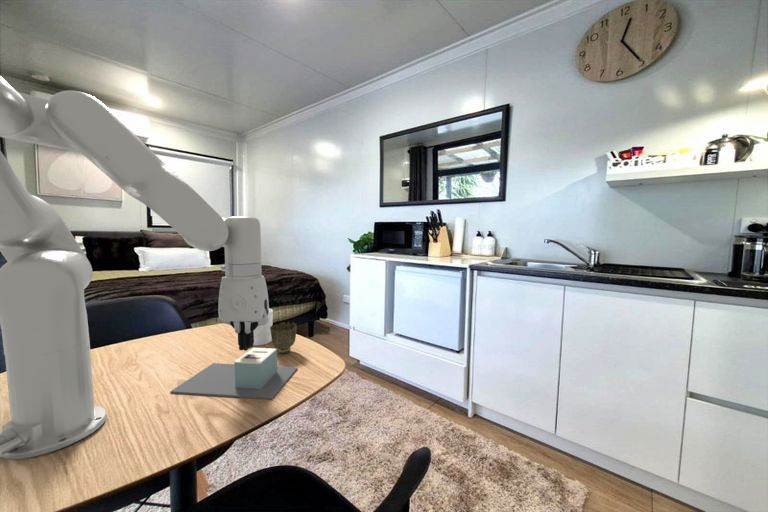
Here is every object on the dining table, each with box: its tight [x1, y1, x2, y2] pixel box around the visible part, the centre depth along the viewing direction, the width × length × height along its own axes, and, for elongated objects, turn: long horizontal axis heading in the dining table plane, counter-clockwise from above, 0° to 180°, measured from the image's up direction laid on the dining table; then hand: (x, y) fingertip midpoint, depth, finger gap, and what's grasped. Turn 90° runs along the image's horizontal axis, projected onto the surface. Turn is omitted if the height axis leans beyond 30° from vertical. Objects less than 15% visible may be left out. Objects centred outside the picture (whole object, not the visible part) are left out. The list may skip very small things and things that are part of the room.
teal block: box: [233, 347, 278, 389], centre depth 70 cm, size 8×6×6 cm
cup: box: [270, 321, 298, 355], centre depth 87 cm, size 8×7×8 cm
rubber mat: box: [170, 362, 298, 400], centre depth 70 cm, size 14×23×1 cm, turn 85°
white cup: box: [253, 308, 274, 347], centre depth 95 cm, size 8×8×10 cm
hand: (246, 348), depth 70 cm, fingers closed
